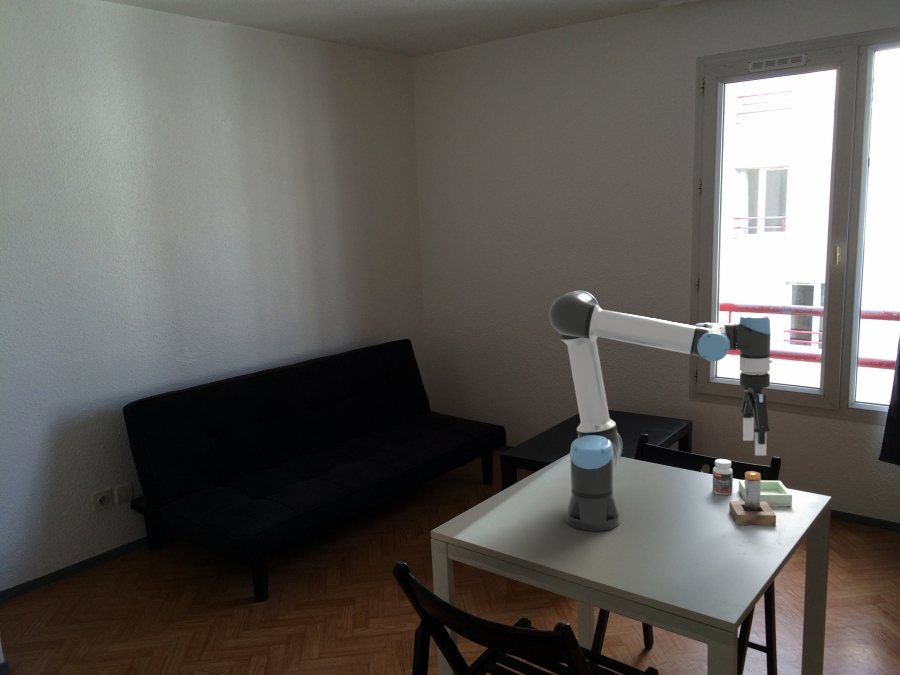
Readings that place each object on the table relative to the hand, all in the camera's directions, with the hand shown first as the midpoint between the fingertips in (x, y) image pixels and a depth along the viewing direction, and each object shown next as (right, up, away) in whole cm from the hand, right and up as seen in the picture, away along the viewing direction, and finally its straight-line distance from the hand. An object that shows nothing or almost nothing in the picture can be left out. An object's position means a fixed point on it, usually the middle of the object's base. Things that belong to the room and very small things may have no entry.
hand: (754, 447), depth 201 cm
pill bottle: (0, -17, +23) cm, 29 cm away
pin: (+1, -20, +3) cm, 21 cm away
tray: (+10, -18, +17) cm, 26 cm away
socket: (+1, -20, +3) cm, 21 cm away
